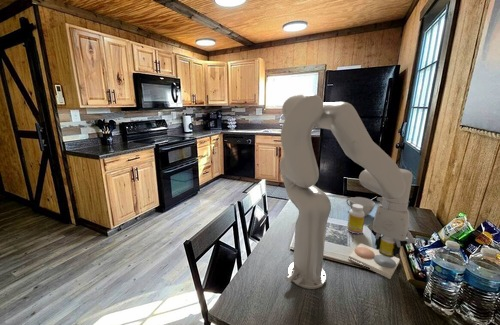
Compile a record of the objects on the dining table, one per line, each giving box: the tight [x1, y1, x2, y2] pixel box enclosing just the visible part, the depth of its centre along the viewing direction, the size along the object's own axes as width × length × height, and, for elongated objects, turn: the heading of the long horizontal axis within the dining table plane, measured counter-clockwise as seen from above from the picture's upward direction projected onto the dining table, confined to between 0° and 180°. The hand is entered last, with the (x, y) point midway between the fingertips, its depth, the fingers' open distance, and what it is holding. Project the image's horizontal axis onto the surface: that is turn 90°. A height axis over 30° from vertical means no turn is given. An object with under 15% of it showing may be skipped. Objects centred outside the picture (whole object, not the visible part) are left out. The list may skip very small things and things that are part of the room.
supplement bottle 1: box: [346, 204, 366, 235], centre depth 103 cm, size 7×7×13 cm
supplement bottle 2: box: [379, 235, 396, 258], centre depth 79 cm, size 5×5×8 cm
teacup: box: [345, 196, 376, 217], centre depth 122 cm, size 15×12×8 cm
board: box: [348, 242, 401, 280], centre depth 83 cm, size 12×14×2 cm
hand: (386, 250), depth 80 cm, fingers closed on supplement bottle 2, 4 cm apart
